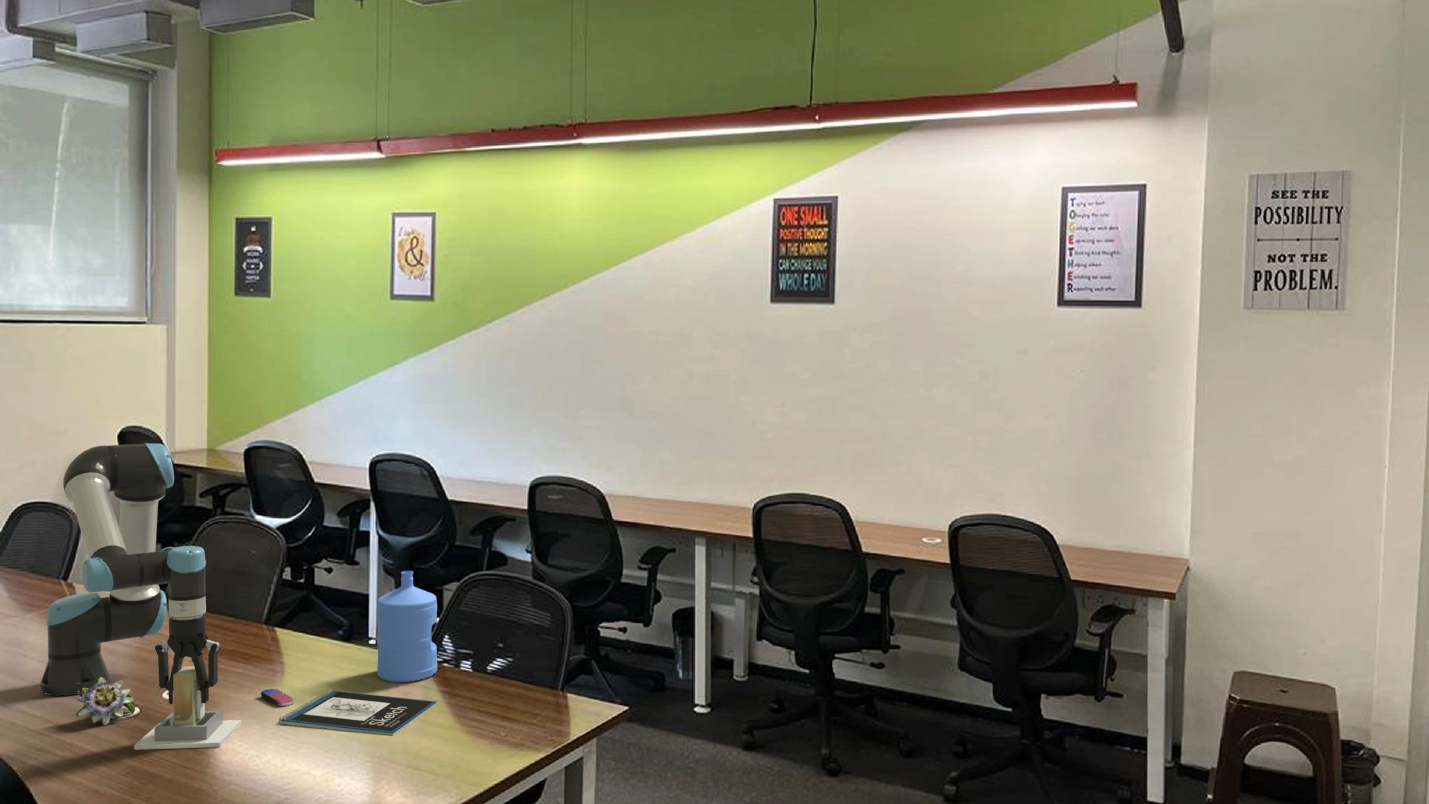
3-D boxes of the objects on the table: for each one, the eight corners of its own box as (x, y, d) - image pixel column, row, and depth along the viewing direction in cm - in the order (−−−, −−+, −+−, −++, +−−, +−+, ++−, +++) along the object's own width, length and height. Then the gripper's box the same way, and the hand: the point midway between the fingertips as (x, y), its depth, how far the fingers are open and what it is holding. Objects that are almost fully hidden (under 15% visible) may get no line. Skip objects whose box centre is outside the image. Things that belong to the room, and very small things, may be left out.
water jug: (401, 687, 273) (400, 581, 272) (365, 675, 283) (364, 572, 281) (449, 672, 286) (449, 571, 284) (413, 661, 295) (413, 563, 294)
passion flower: (106, 747, 245) (74, 715, 238) (91, 726, 252) (60, 695, 245) (150, 711, 251) (120, 680, 244) (134, 693, 258) (105, 661, 251)
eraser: (295, 705, 260) (296, 698, 260) (279, 709, 257) (279, 702, 257) (275, 694, 267) (275, 687, 267) (259, 697, 264) (259, 690, 264)
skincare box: (185, 717, 241) (184, 665, 240) (204, 717, 241) (203, 665, 240) (173, 728, 234) (172, 674, 234) (193, 727, 235) (192, 674, 234)
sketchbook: (393, 738, 240) (393, 729, 240) (276, 726, 246) (276, 717, 246) (437, 706, 261) (437, 697, 261) (328, 695, 267) (328, 687, 267)
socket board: (134, 749, 230) (133, 731, 230) (160, 726, 244) (160, 709, 244) (220, 747, 232) (219, 729, 232) (241, 724, 246) (241, 707, 246)
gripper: (139, 620, 232) (141, 724, 233) (222, 619, 234) (223, 722, 235) (153, 612, 239) (155, 712, 240) (233, 610, 241) (234, 710, 242)
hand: (189, 717), depth 238 cm, fingers closed on skincare box, 4 cm apart
